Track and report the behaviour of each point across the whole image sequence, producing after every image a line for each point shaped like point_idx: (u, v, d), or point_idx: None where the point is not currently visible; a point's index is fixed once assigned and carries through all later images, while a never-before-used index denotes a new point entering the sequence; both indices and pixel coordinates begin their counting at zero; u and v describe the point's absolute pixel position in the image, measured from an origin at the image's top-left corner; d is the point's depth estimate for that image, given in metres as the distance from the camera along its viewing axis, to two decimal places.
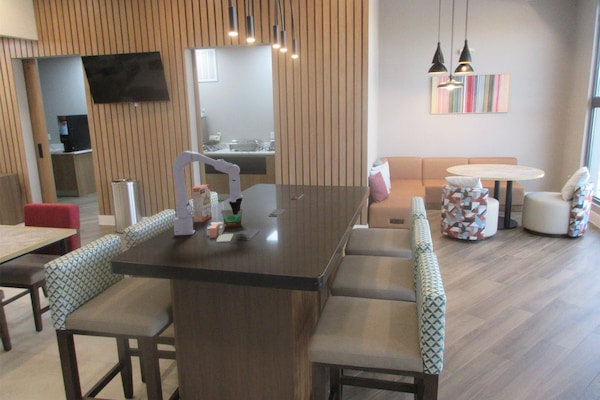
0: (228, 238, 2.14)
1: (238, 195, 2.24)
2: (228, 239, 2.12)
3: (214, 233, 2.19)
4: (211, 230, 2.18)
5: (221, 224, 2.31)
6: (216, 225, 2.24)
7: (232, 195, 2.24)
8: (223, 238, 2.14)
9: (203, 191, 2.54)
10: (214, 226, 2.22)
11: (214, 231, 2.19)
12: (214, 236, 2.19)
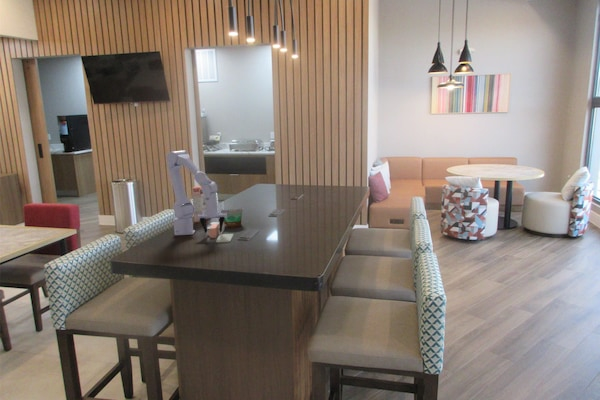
0: (228, 238, 2.14)
1: (207, 214, 2.17)
2: (228, 239, 2.12)
3: (214, 233, 2.19)
4: (211, 230, 2.18)
5: None
6: (216, 225, 2.24)
7: None
8: (223, 238, 2.14)
9: None
10: (214, 226, 2.22)
11: (214, 231, 2.19)
12: (214, 236, 2.19)
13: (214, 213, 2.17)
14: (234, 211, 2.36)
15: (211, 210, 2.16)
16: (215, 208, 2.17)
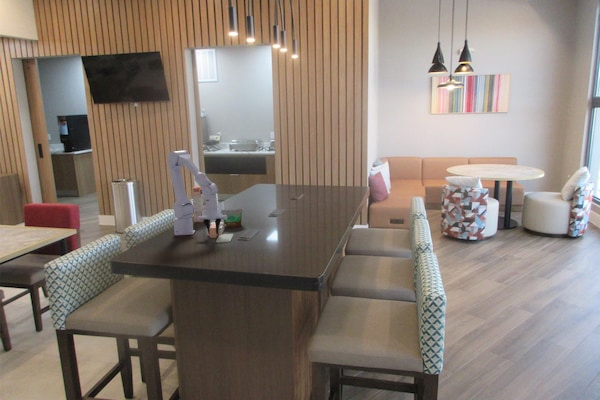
0: (228, 238, 2.14)
1: (207, 215, 2.17)
2: (228, 239, 2.12)
3: (214, 233, 2.19)
4: (211, 230, 2.18)
5: (221, 224, 2.31)
6: None
7: None
8: (223, 238, 2.14)
9: None
10: (214, 226, 2.22)
11: (214, 231, 2.19)
12: (214, 236, 2.19)
13: (214, 215, 2.17)
14: (234, 211, 2.36)
15: (211, 212, 2.16)
16: (215, 210, 2.17)
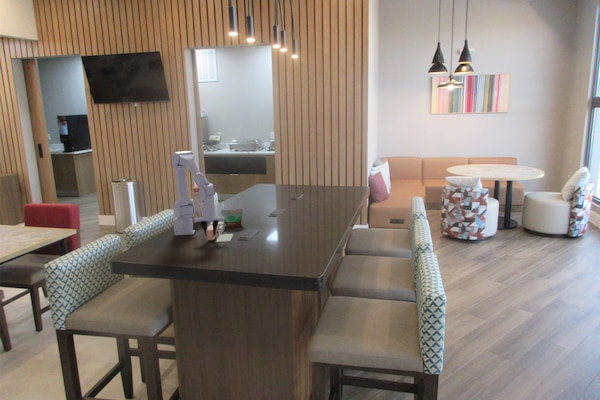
0: (228, 238, 2.14)
1: (204, 217, 2.09)
2: (228, 239, 2.12)
3: (211, 235, 2.11)
4: (208, 232, 2.10)
5: (221, 224, 2.31)
6: None
7: None
8: (223, 238, 2.14)
9: None
10: (211, 228, 2.14)
11: (211, 233, 2.11)
12: (211, 238, 2.11)
13: (211, 216, 2.09)
14: (234, 211, 2.36)
15: (208, 213, 2.08)
16: (212, 211, 2.09)
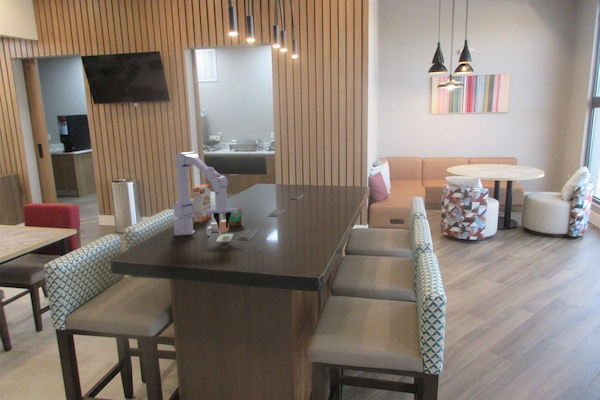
0: (228, 238, 2.14)
1: (217, 209, 2.09)
2: (228, 239, 2.12)
3: (224, 227, 2.10)
4: (221, 224, 2.10)
5: None
6: None
7: None
8: (223, 238, 2.14)
9: (203, 191, 2.54)
10: (224, 221, 2.14)
11: (224, 225, 2.10)
12: (224, 230, 2.10)
13: (224, 208, 2.08)
14: None
15: (221, 205, 2.07)
16: (225, 203, 2.08)
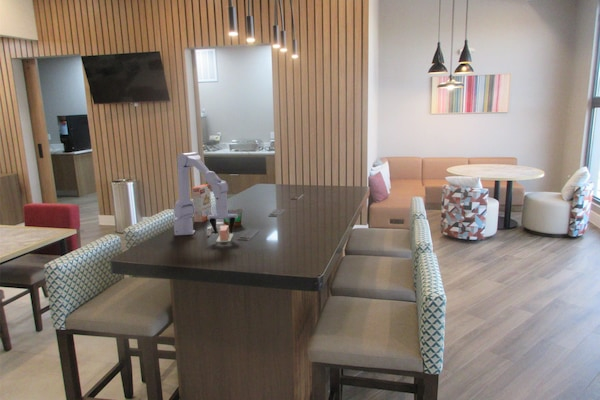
0: (228, 238, 2.14)
1: (217, 214, 2.09)
2: (228, 239, 2.12)
3: (224, 235, 2.11)
4: (221, 232, 2.10)
5: (221, 224, 2.31)
6: (226, 227, 2.16)
7: None
8: None
9: (203, 191, 2.54)
10: (224, 228, 2.14)
11: (224, 233, 2.10)
12: (224, 238, 2.11)
13: (225, 213, 2.09)
14: (234, 211, 2.36)
15: (221, 210, 2.08)
16: (226, 208, 2.09)
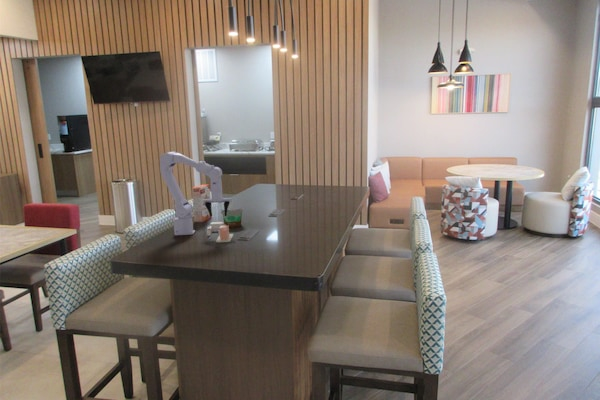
0: (228, 238, 2.14)
1: (212, 198, 2.22)
2: (228, 239, 2.12)
3: (224, 235, 2.11)
4: (221, 232, 2.10)
5: (221, 224, 2.31)
6: (226, 227, 2.16)
7: None
8: None
9: (203, 191, 2.54)
10: (224, 228, 2.14)
11: (224, 233, 2.10)
12: (224, 238, 2.11)
13: (219, 197, 2.22)
14: (234, 211, 2.36)
15: (216, 194, 2.21)
16: (220, 192, 2.22)
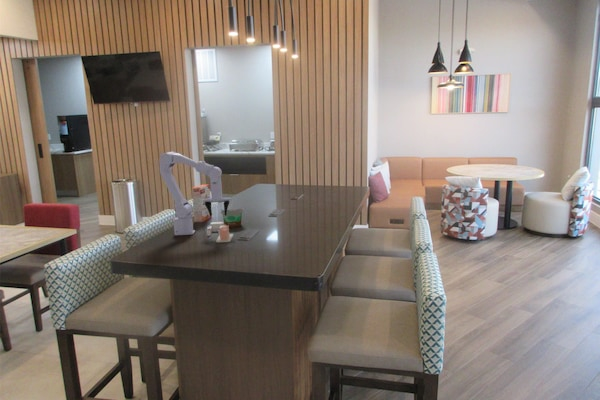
0: (228, 238, 2.14)
1: (212, 198, 2.23)
2: (228, 239, 2.12)
3: (224, 235, 2.11)
4: (221, 232, 2.10)
5: (221, 224, 2.31)
6: (226, 227, 2.16)
7: None
8: None
9: (203, 191, 2.54)
10: (224, 228, 2.14)
11: (224, 233, 2.10)
12: (224, 238, 2.11)
13: (219, 197, 2.22)
14: (234, 211, 2.36)
15: (216, 194, 2.21)
16: (220, 192, 2.22)
